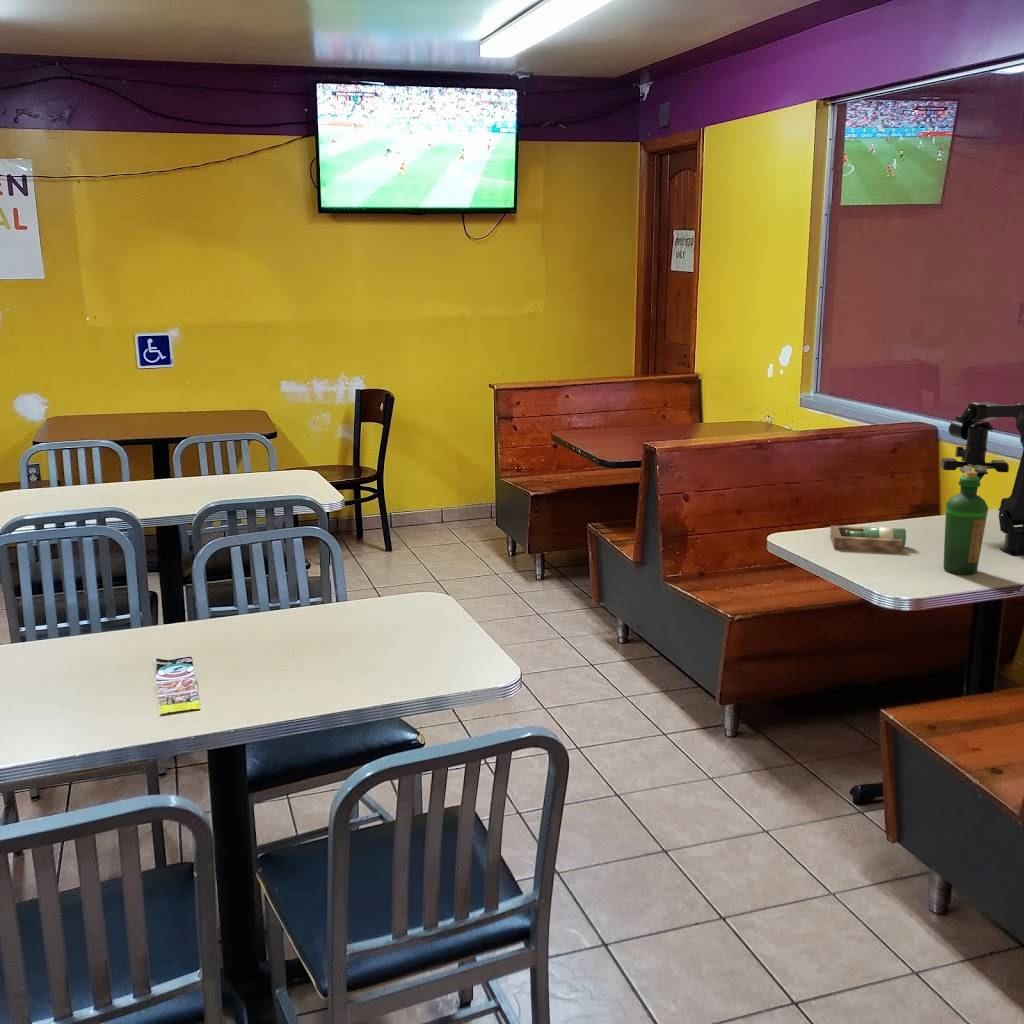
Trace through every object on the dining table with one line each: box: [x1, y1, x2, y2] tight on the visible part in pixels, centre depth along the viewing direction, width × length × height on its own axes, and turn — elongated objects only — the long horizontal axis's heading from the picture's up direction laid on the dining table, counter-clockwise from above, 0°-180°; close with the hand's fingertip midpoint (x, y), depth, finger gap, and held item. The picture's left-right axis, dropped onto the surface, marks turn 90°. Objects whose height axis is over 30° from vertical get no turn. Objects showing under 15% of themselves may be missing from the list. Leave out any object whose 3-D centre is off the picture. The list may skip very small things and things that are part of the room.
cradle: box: [829, 525, 903, 554], centre depth 309 cm, size 19×14×4 cm
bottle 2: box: [943, 470, 989, 576], centre depth 280 cm, size 11×11×28 cm
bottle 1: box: [845, 526, 907, 548], centre depth 307 cm, size 6×6×17 cm
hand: (971, 492), depth 318 cm, fingers closed
